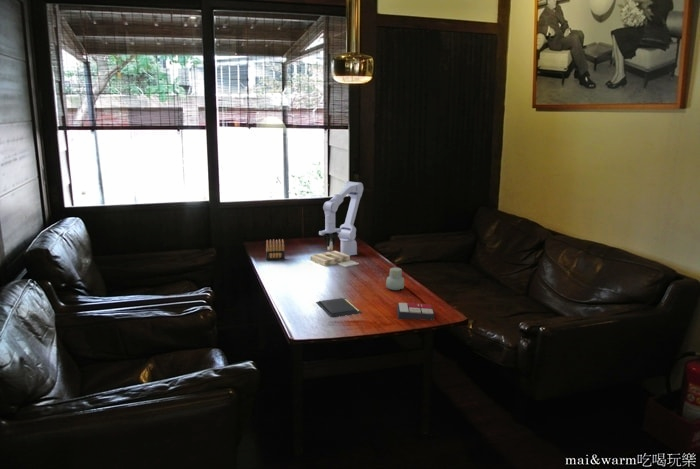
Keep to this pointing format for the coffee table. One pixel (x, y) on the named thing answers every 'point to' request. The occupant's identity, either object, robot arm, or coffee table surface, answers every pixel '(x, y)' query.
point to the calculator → (415, 311)
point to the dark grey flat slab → (338, 307)
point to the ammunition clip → (275, 250)
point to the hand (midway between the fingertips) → (330, 245)
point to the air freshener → (395, 279)
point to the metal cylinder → (330, 244)
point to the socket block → (329, 258)
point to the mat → (348, 263)
